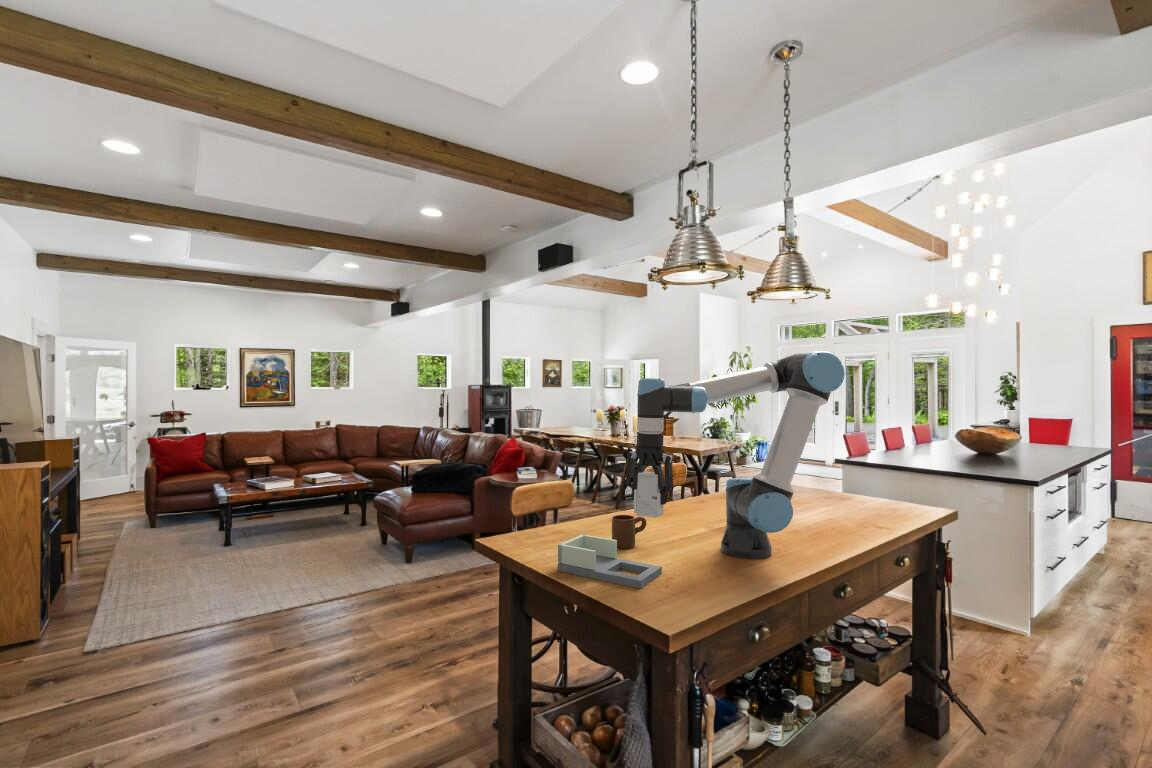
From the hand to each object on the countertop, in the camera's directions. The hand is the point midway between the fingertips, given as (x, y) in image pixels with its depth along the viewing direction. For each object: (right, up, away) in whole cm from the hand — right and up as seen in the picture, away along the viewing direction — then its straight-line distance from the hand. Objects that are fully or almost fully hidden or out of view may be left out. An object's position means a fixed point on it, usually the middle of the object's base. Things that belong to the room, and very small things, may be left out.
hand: (648, 513), depth 154 cm
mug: (-3, -16, +23) cm, 29 cm away
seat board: (-11, -16, -2) cm, 20 cm away
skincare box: (0, -1, 0) cm, 1 cm away
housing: (-17, -14, +2) cm, 22 cm away
